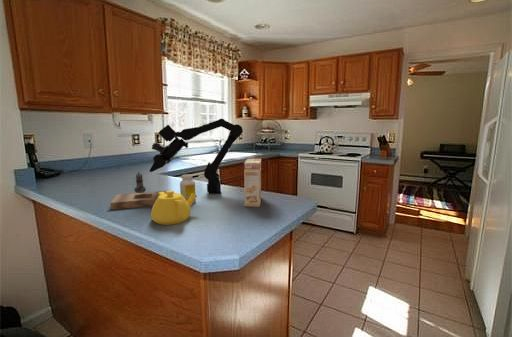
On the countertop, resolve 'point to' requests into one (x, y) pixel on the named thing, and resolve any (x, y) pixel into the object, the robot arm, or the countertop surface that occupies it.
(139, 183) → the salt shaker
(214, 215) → the countertop surface
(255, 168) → the coffeecake box
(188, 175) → the supplement bottle
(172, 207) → the teapot
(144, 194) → the board
